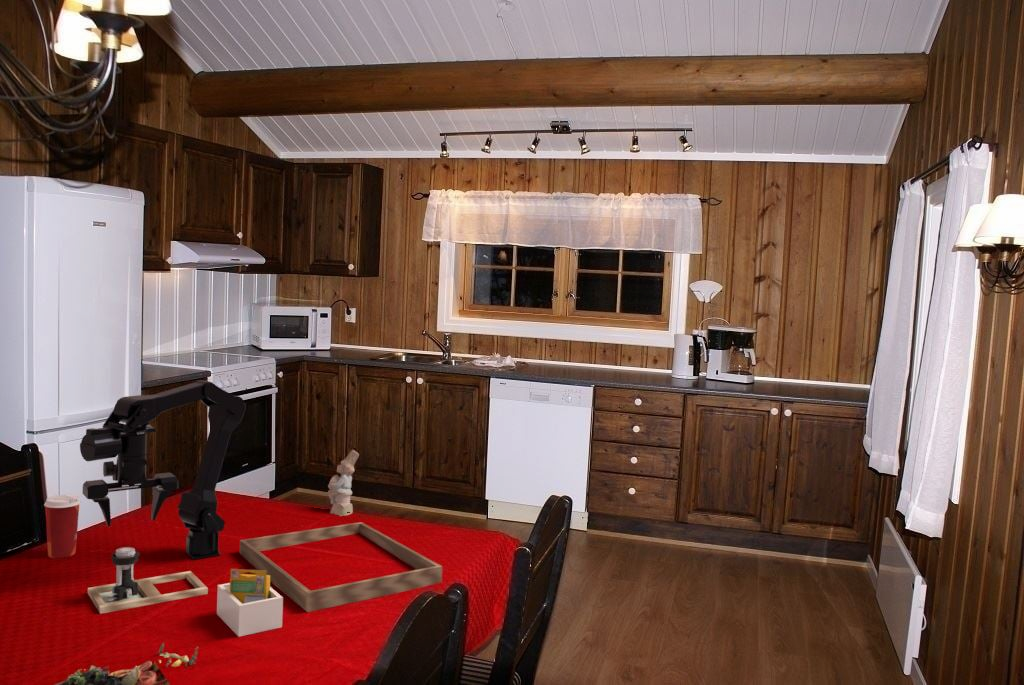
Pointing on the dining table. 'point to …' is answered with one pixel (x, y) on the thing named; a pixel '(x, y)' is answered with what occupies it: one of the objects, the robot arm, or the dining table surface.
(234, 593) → the crayon box
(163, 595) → the wooden double frame
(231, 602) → the crayon stand
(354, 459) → the figurine
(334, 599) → the tray rim
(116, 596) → the push button
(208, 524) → the robot arm
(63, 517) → the paper cup
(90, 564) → the dining table surface
